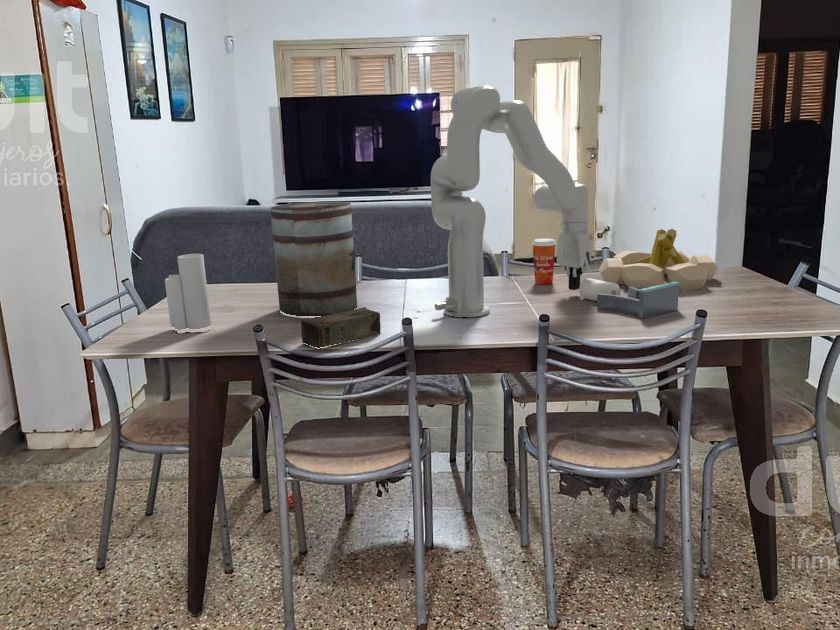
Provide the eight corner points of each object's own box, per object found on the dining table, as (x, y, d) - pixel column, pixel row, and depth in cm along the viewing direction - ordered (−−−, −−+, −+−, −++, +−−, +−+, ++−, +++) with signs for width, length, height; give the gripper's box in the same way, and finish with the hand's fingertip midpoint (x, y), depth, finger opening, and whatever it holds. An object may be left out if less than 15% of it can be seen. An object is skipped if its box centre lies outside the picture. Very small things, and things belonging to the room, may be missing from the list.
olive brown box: (382, 335, 181) (381, 309, 179) (318, 352, 169) (316, 325, 167) (364, 329, 187) (362, 304, 185) (300, 345, 175) (298, 319, 173)
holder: (642, 319, 185) (643, 290, 183) (595, 308, 197) (596, 281, 196) (677, 310, 192) (679, 282, 190) (630, 300, 205) (631, 273, 203)
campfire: (700, 297, 206) (703, 238, 202) (586, 288, 224) (587, 233, 220) (724, 275, 234) (727, 222, 230) (621, 268, 252) (622, 219, 248)
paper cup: (529, 285, 230) (529, 241, 226) (534, 280, 237) (533, 238, 233) (554, 285, 227) (554, 241, 224) (557, 281, 234) (558, 238, 231)
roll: (620, 303, 203) (621, 282, 202) (605, 305, 200) (606, 284, 198) (592, 297, 211) (593, 277, 210) (578, 299, 208) (579, 279, 207)
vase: (215, 326, 195) (207, 253, 190) (205, 333, 188) (196, 258, 183) (175, 327, 196) (165, 254, 191) (163, 334, 189) (153, 259, 184)
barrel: (369, 301, 217) (363, 201, 209) (338, 320, 196) (330, 209, 189) (301, 299, 224) (293, 201, 216) (265, 317, 203) (255, 210, 196)
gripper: (547, 226, 213) (547, 287, 217) (584, 231, 201) (584, 295, 205) (565, 223, 217) (565, 283, 221) (603, 227, 205) (602, 290, 209)
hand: (574, 288), depth 213 cm, fingers closed
